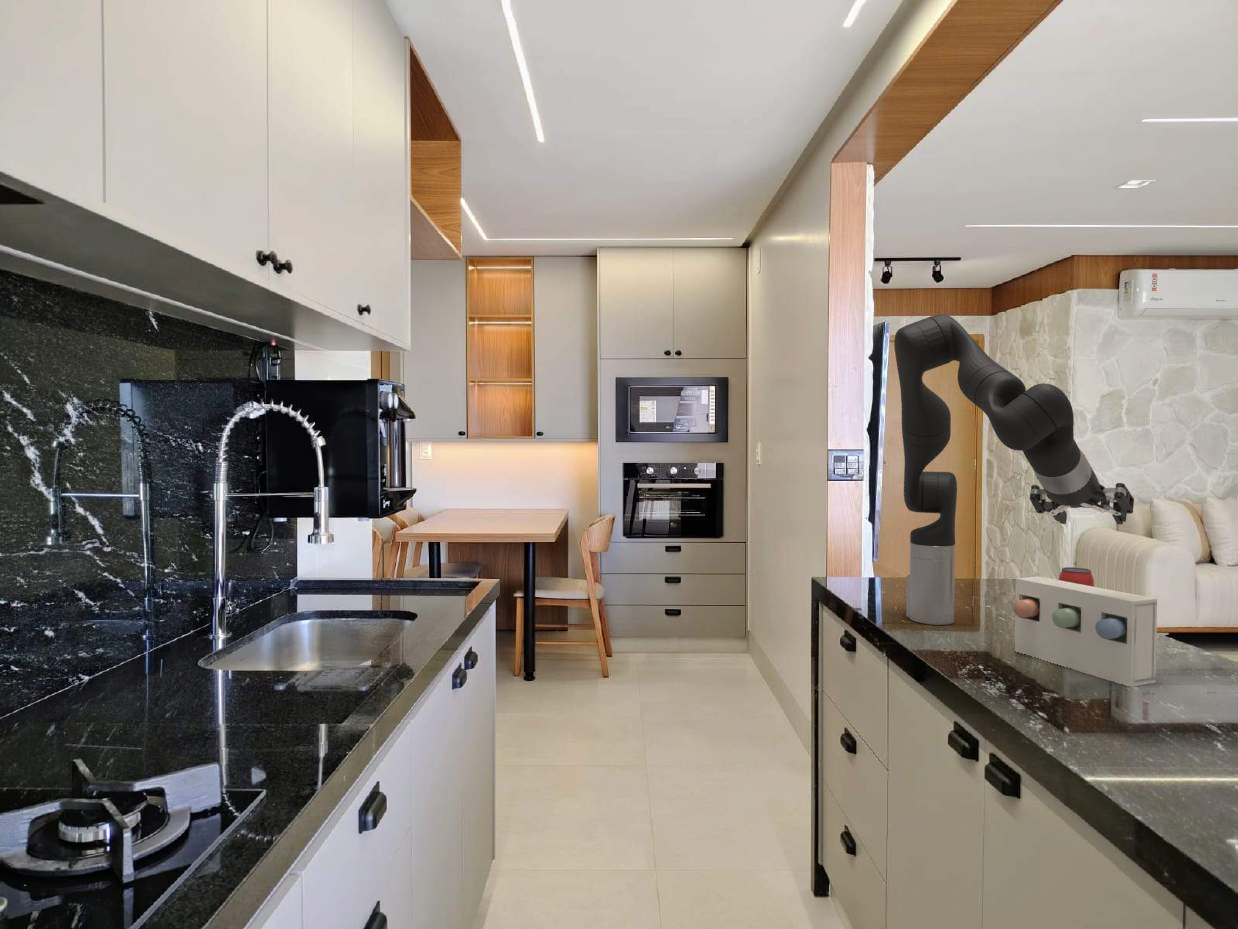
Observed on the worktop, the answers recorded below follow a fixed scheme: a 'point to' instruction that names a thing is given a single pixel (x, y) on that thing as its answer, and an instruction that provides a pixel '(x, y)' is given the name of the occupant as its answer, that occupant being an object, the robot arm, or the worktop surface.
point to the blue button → (1111, 628)
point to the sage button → (1067, 617)
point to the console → (1089, 630)
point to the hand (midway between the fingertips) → (1091, 519)
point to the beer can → (1077, 576)
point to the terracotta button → (1027, 608)
